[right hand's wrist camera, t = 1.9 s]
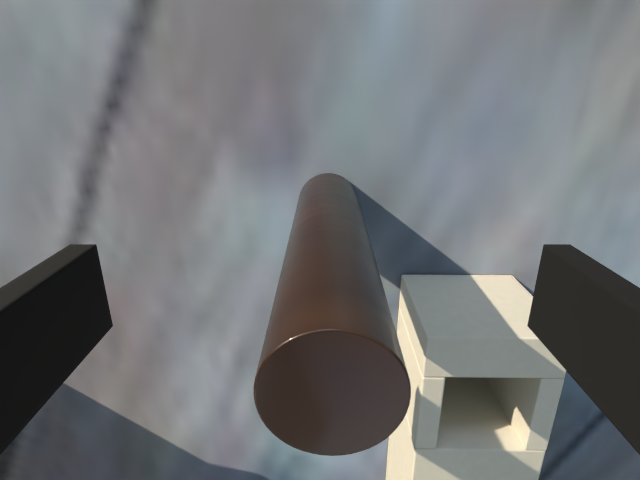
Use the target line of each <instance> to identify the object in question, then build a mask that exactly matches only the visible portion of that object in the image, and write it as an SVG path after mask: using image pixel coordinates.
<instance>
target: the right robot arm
mask: <svg viewBox="0 0 640 480" xmlns="http://www.w3.org/2000/svg"><path fill="white" fill-rule="evenodd" d="M112 326H113V325H112V320H111V315H110V310H109V305H108V300H107V295H106V290H105V285H104V280H103V276H102V271H101V266H100V261H99V256H98V251H97V246H96V245H69V246H67V247H65V248H64V249H62V250H61V251H59V252H57V253H56V254H54V255H53V256H51V257H49V258H48V259H46V260H45V261H43V262H41V263H40V264H38V265H37V266H35V267H33V268H32V269H30V270H29V271H27V272H25V273H24V274H22V275H21V276H19V277H17V278H16V279H14V280H12V281H11V282H9V283H8V284H6V285H4V286H3V287H1V288H0V454H1V453H2V452H3V451H4V450H5V449H6V448H7V446H8V445H9V444H10V443H11V442H12V441H13V440H14V438H15V437H16V436H17V435H18V434H19V433H20V431H21V430H22V429H23V428H24V427H25V426H26V425H27V423H28V422H29V421H30V420H31V419H32V418H33V417H34V415H35V414H36V413H37V412H38V411H39V410H40V409H41V407H42V406H43V405H44V404H45V403H46V402H47V401H48V399H49V398H50V397H51V396H52V395H53V394H54V393H55V391H56V390H57V389H58V388H59V387H60V386H61V385H62V383H63V382H64V381H65V380H66V379H67V378H68V377H69V375H70V374H71V373H72V372H73V371H74V370H75V369H76V367H77V366H78V365H79V364H80V363H81V362H82V361H83V359H84V358H85V357H86V356H87V355H88V354H89V352H90V351H91V350H92V349H93V348H94V347H95V346H96V344H97V343H98V342H99V341H100V340H101V339H102V338H103V336H104V335H105V334H106V333H107V332H108V331H109V330H110V328H111V327H112ZM527 326H528V327H529V328H530V330H531V331H532V332H533V333H534V334H535V335H536V336H537V338H538V339H539V340H540V341H541V342H542V343H543V344H544V346H545V347H546V348H547V349H548V350H549V351H550V352H551V354H552V355H553V356H554V357H555V358H556V359H557V361H558V362H559V363H560V364H561V365H562V366H563V367H564V369H565V370H566V371H567V372H568V373H569V374H570V375H571V377H572V378H573V379H574V380H575V381H576V382H577V383H578V385H579V386H580V387H581V388H582V389H583V390H584V391H585V393H586V394H587V395H588V396H589V397H590V398H591V399H592V401H593V402H594V403H595V404H596V405H597V406H598V407H599V409H600V410H601V411H602V412H603V413H604V414H605V415H606V417H607V418H608V419H609V420H610V421H611V422H612V423H613V425H614V426H615V427H616V428H617V429H618V430H619V431H620V433H621V434H622V435H623V436H624V437H625V438H626V440H627V441H628V442H629V443H630V444H631V445H632V446H633V448H634V449H635V450H636V451H637V452H638V453H639V454H640V288H639V287H637V286H636V285H634V284H632V283H631V282H629V281H628V280H626V279H624V278H623V277H621V276H619V275H618V274H616V273H615V272H613V271H611V270H610V269H608V268H607V267H605V266H603V265H602V264H600V263H599V262H597V261H595V260H594V259H592V258H591V257H589V256H587V255H586V254H584V253H583V252H581V251H579V250H578V249H576V248H575V247H573V246H571V245H544V246H543V251H542V256H541V261H540V266H539V271H538V276H537V280H536V285H535V290H534V295H533V300H532V305H531V310H530V315H529V320H528V325H527Z"/></svg>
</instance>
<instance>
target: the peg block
mask: <svg viewBox="0 0 640 480" xmlns="http://www.w3.org/2000/svg"><path fill="white" fill-rule="evenodd" d="M532 300H533V296H532V295H531V294H530V293H529V292H528V291H527V290H526V289H525V288H524V287H523V286H522V285H521V284H520V283H519V282H518V281H517V280H516V279H515V278H514V277H513V276H512V275H402V276H401V288H400V301H399V307H400V308H399V315H398V328H397V337H398V340H399V344H400V347H401V351H402V354H403V358H404V361H405V365H406V368H407V372H408V375H409V379H410V385H411V398H410V404H409V407H408V410H407V413H406V415H405V417H404V419H403V421H402V422H401V424H400V425H399V426H398V428H397V429H396V430H395V431H394V432H393V433H392V434H391V435H390V436H389V445H388V458H387V471H386V480H538V479H539V476H540V472H541V468H542V464H543V460H544V456H545V452H546V451H545V450H547V446H548V442H549V438H550V434H551V430H552V427H553V423H554V419H555V415H556V411H557V407H558V403H559V399H560V395H561V391H562V388H563V384H564V378H565V375H566V370H565V369H564V367H563V366H562V365H561V364H560V363H559V362H558V361H557V359H556V358H555V357H554V356H553V355H552V354H551V352H550V351H549V350H548V349H547V348H546V347H545V346H544V344H543V343H542V342H541V341H540V340H539V339H538V338H537V336H536V335H535V334H534V333H533V332H532V331H531V330H530V328H529V327H528V326H527V325H528V320H529V315H530V310H531V305H532Z"/></svg>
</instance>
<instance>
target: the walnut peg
mask: <svg viewBox="0 0 640 480" xmlns="http://www.w3.org/2000/svg"><path fill="white" fill-rule="evenodd" d="M410 398H411V385H410V379H409V375H408V372H407V368H406V365H405V361H404V358H403V354H402V351H401V347H400V344H399V340H398V337H397V333H396V330H395V326H394V323H393V319H392V316H391V313H390V309H389V306H388V302H387V299H386V295H385V292H384V288H383V285H382V281H381V278H380V274H379V271H378V267H377V264H376V260H375V257H374V253H373V250H372V246H371V243H370V239H369V236H368V232H367V229H366V225H365V222H364V218H363V215H362V211H361V208H360V204H359V201H358V198H357V194H356V191H355V189H354V187H353V186H352V185H351V183H350V182H349V181H348V180H346V179H345V178H343V177H341V176H339V175H336V174H329V173H328V174H321V175H318V176H315V177H313V178H312V179H310V180H309V181H308V182H307V183H306V184H305V185H304V187H303V188H302V190H301V193H300V196H299V200H298V204H297V208H296V212H295V216H294V220H293V225H292V229H291V233H290V237H289V241H288V245H287V249H286V253H285V258H284V262H283V266H282V270H281V274H280V278H279V282H278V286H277V291H276V295H275V299H274V303H273V307H272V311H271V315H270V319H269V324H268V328H267V332H266V336H265V340H264V344H263V348H262V352H261V357H260V361H259V365H258V369H257V373H256V377H255V382H254V400H255V405H256V408H257V411H258V413H259V415H260V417H261V419H262V421H263V422H264V424H265V425H266V427H267V428H268V429H269V430H270V431H271V432H272V433H273V434H274V435H275V436H276V437H278V438H279V439H280V440H282V441H283V442H285V443H286V444H288V445H290V446H292V447H294V448H296V449H299V450H302V451H305V452H308V453H312V454H318V455H329V456H335V455H347V454H352V453H357V452H360V451H363V450H366V449H369V448H371V447H373V446H375V445H377V444H379V443H380V442H382V441H383V440H385V439H386V438H387V437H388V436H390V435H391V434H392V433H393V432H394V431H395V430H396V429H397V428H398V426H399V425H400V424H401V422H402V421H403V419H404V417H405V415H406V413H407V410H408V407H409V404H410Z"/></svg>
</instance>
